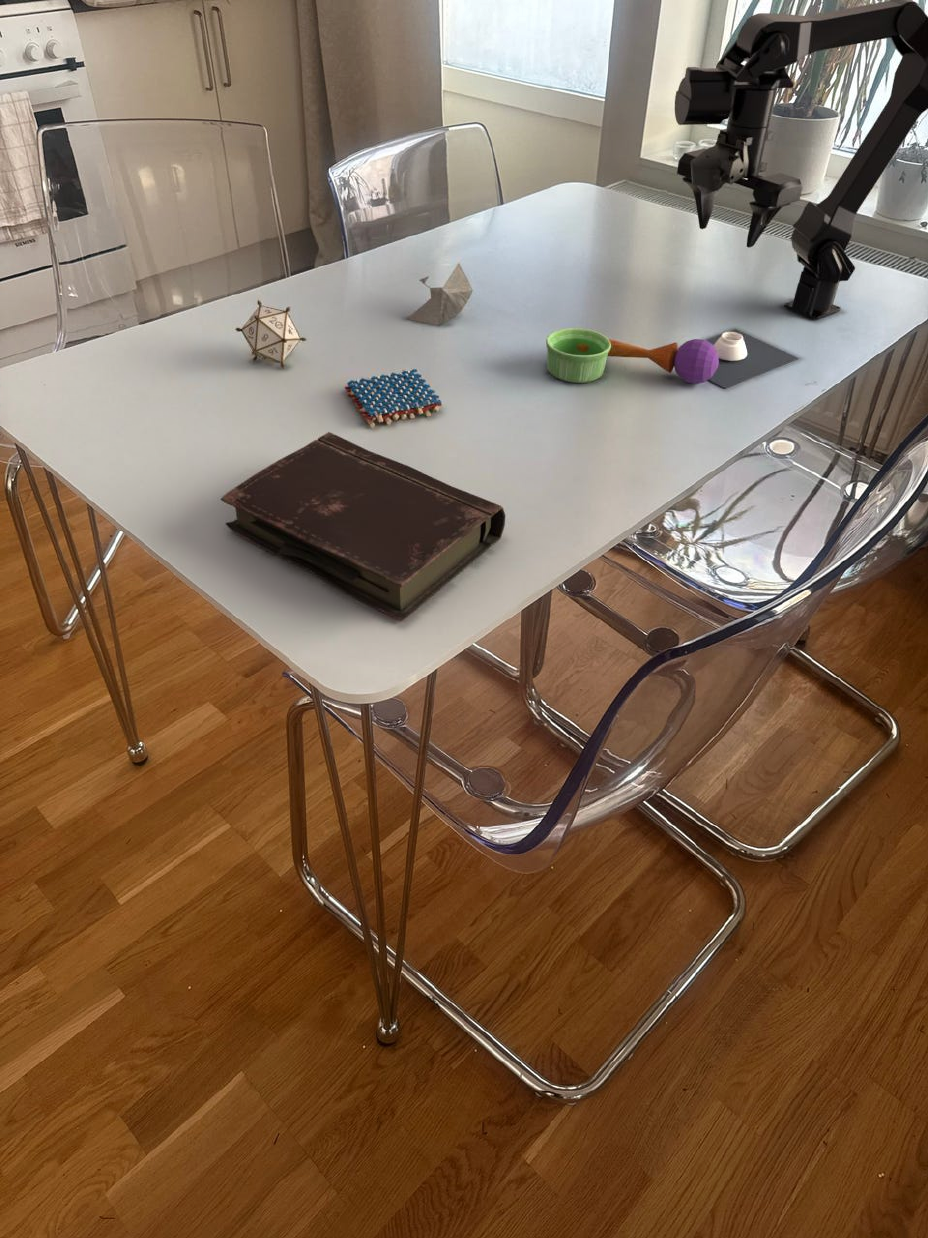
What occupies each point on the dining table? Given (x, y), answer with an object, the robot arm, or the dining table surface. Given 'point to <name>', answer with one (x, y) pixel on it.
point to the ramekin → (577, 354)
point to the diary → (365, 523)
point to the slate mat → (748, 361)
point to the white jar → (731, 347)
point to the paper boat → (445, 299)
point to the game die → (271, 334)
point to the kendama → (673, 357)
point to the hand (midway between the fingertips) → (725, 237)
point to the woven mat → (392, 396)
